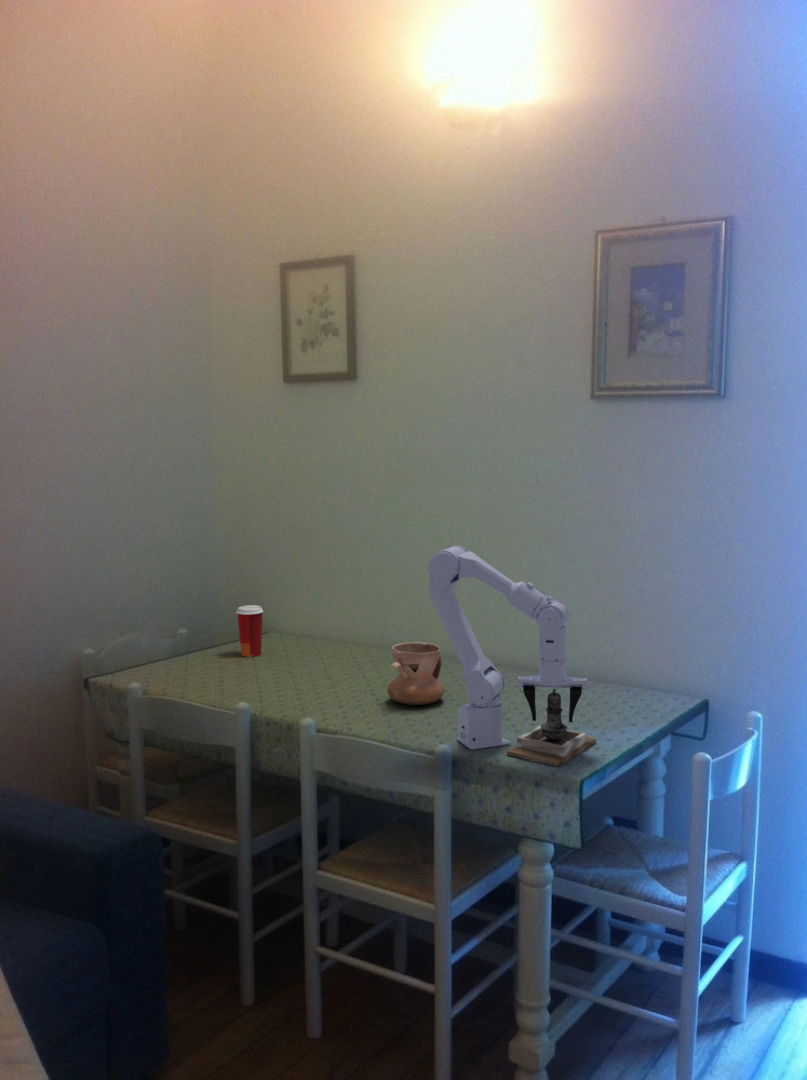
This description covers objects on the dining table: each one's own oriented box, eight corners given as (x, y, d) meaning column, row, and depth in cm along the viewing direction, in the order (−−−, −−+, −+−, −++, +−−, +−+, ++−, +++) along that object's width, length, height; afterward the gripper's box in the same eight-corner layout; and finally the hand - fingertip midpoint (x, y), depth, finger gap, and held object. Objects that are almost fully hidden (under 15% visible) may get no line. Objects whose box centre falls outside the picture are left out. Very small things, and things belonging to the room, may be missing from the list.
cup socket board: (557, 766, 197) (558, 752, 197) (506, 755, 204) (506, 741, 204) (595, 742, 211) (596, 729, 211) (547, 733, 219) (547, 720, 218)
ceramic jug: (413, 714, 234) (414, 656, 233) (372, 702, 245) (372, 647, 243) (461, 700, 247) (462, 645, 246) (420, 689, 257) (421, 637, 256)
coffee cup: (265, 651, 302) (264, 604, 301) (263, 657, 294) (262, 609, 293) (238, 652, 302) (237, 605, 300) (236, 658, 294) (234, 610, 292)
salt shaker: (538, 738, 212) (538, 685, 210) (565, 738, 212) (565, 684, 210) (542, 747, 206) (542, 692, 205) (569, 747, 206) (570, 692, 205)
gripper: (586, 654, 208) (586, 715, 210) (519, 653, 211) (519, 713, 212) (587, 662, 201) (587, 725, 203) (517, 660, 204) (517, 723, 205)
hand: (552, 720), depth 207 cm, fingers open, 7 cm apart
